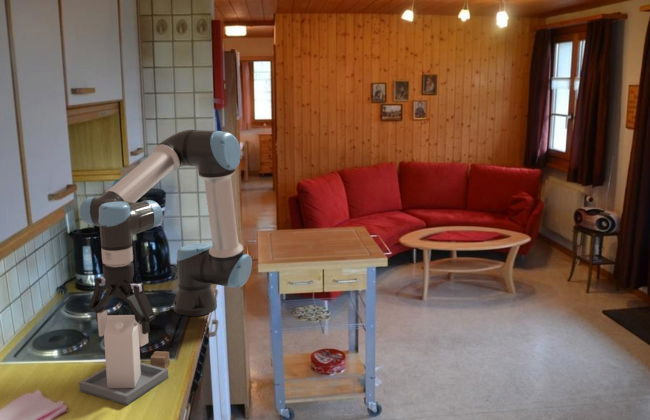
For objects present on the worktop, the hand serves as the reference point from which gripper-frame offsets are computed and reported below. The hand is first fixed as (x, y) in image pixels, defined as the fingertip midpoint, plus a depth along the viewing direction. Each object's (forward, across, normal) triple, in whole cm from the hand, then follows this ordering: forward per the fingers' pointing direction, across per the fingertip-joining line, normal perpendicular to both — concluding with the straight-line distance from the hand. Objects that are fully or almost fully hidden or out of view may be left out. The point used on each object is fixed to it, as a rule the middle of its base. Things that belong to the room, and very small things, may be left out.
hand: (123, 339), depth 160 cm
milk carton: (+12, 0, -1) cm, 12 cm away
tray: (+13, 0, -1) cm, 13 cm away
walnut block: (+13, +2, +11) cm, 17 cm away
